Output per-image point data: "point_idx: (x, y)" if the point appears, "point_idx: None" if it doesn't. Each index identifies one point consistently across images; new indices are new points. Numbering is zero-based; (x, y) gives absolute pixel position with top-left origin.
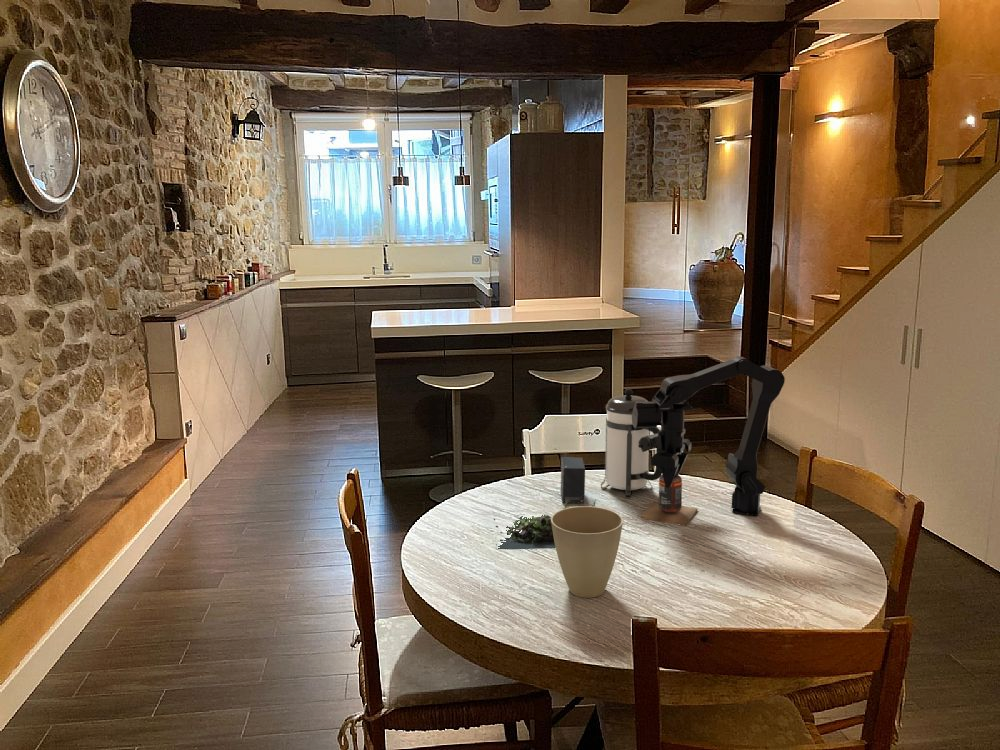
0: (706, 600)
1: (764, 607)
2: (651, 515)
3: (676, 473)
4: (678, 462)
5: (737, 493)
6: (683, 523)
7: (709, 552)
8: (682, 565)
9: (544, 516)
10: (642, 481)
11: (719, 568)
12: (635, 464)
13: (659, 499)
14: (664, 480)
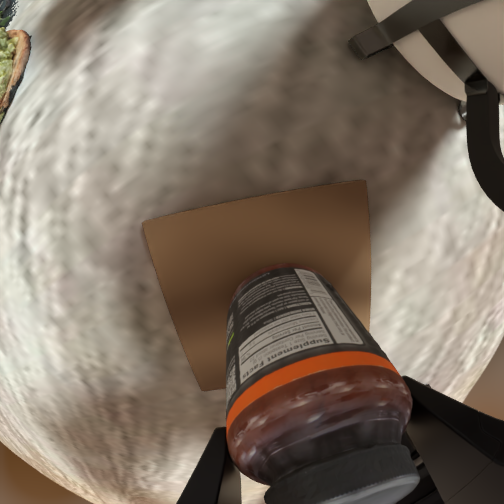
0: (15, 440)
1: (62, 477)
2: (180, 262)
3: None
4: (456, 491)
5: (409, 443)
6: (199, 384)
7: (109, 446)
8: (32, 416)
9: (6, 2)
10: (457, 87)
11: (79, 456)
12: (502, 29)
13: (246, 303)
14: (194, 473)
